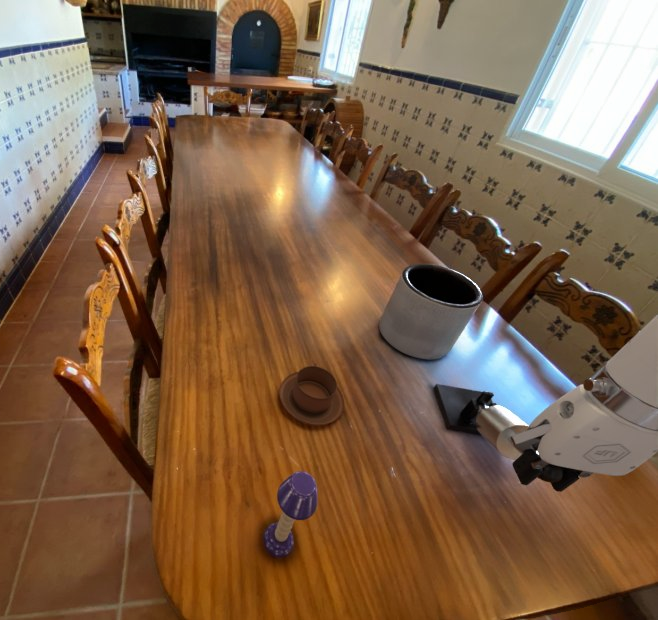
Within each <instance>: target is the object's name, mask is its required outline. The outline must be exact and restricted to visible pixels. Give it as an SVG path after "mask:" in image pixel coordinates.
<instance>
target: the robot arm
mask: <svg viewBox="0 0 658 620" xmlns="http://www.w3.org/2000/svg"><path fill="white" fill-rule="evenodd" d="M528 425H529V426H528V428H527V430H526V431H524V432H522V433H519V434H516V435H514V436H511V437H510V439H511V441H512V443H513V445H514V447H515V448H517V449H518V450H520V451H521V452H523V454H522V455H521V456H520V457H519V458H517V459H516V460H514V461H513V462H512V467H513V471H514V473H515V474H516V476H517V479H518V481H519V483H520V484H521V485H523V486H528V485H530V484H531V483H532V482H534V481H535V480H537V477H538V476H540V475H541V474H542V473H543V469H542V468H543V467H545V466H546V465H548V464H553V465H557V466H561V467H564V469H565V475H564V477H563V478H562V479H561V480H560V481H558V482H553V483H550V485H551V487H552V489H553V490H554V491H556V492H560V493H561V492H564V491H565V490H566V489H568V488H569V487H570V486H571V485H573V484H575V483H576V482H577V481H579V480H580V478H583V479H584V478H589V477H591V476H592V475H593V474H600V475H606V476H611V477H620V476H626V475H627V474H630V473H632V472H633V471H635V470H636V469H637V468H639V467H640V466H642V465H643V464H644V463H646V462H647V461H649V460H650V459H651V458H652V457H653V456H655V455H656V454H657V453H658V313H657V314H656V315H655V316H654V317H653V318H652V319H651V320H650V321H649V322H648V323H647V324H645V325H644V326H643V327H642V328H641V329H640V330H639V332H637V333H636V334H635V335H634V336H633V337H632V338H631V339H630V340H629V341H627V342H626V344H625V345H624V346H623V347H621V348H620V349H619V350H618V351H617V352H616V353H614V355H613V356H612V357H611V358H610V359H609V360H607V362H606V363H604V364H603V365H602V366H601V367H600V368H599V369H598V370H597V371H596V372H595V373H594V374H592V376H591V377H589V378H586V379H585V380H584V381H583V383H582V384H579V385H578V386H576V387H574V388H573V389H571V390H570V391H568V392H567V393H565V394H564V395H562V396H560V398H558V399H556V400H555V401H554V402H552V403H551V404H550V405H549V406H547V407H546V408H544V410H542V411H541V412H540V413H539V414H538V415H537V416H536V417H535V418H534V419H533V420H532V421H531V422H530V423H529V424H528ZM536 451H537V452H538V454H539V455H540V457H539V456H538V454H537V452H536Z"/></svg>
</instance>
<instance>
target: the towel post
mask: <svg viewBox="0 0 658 620" xmlns="http://www.w3.org/2000/svg"><path fill="white" fill-rule="evenodd" d="M479 408H480V409H479V410H478V412H477V413H476V415H478V416H477V418H476V428H477V430H478V431H479V433H480V434H481V435H482V436H481V437H483V438H484V439H485V440H486V441H487V442H488V443H489V444H490V445H491V446H492V447H493V448H494V449H495V450H496V451H497V452H498V453H499V454H500V455H501V456H502V457H504V458H506V459H509V460H514V461H515V460H516V459H517V458H519V457H520V456H521V455H522V454H523V452H521V451H520V450H518V449H517V448H515V447H514V445H513V443H512V441H511V439H510V437H511V436H514V435H516V434H519V433H522V432H524V431H526V430H527V428H528V426H529V425H530V424H528V423H527V422H525V421H524V420H523V419H521V418H520V417H519V416H518V415H517V414H515V413H514V412H512V411H511V410H510V409H508V407H504V406H501V405H497V406H491V407H488V406H483V405H479ZM536 452H537V451H536ZM537 454H538V452H537ZM538 456H539V457H540V455H539V454H538ZM542 469H543V473H542V474H541V475H540V476H538V477H537V478H538V479H539V480H540V481H543V482H546V483H550V484H551V483H553V482H558V481H560V480H561V479H562V478H563V477H564V475H565V469H564V467H561V466H557V465H553V464H548V465H546V466H545V467H543V468H542ZM537 478H536V479H537Z"/></svg>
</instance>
